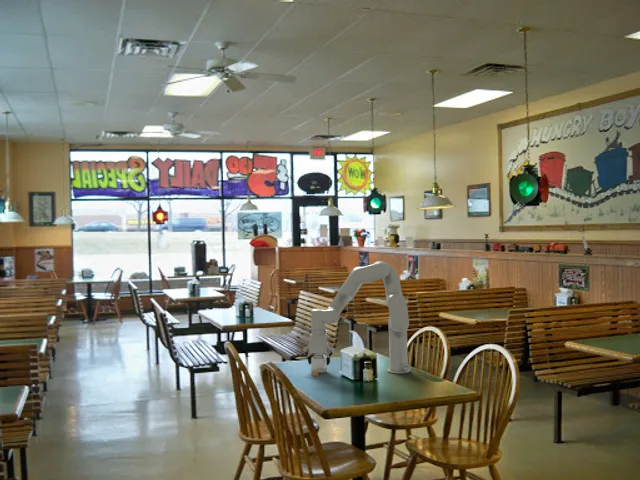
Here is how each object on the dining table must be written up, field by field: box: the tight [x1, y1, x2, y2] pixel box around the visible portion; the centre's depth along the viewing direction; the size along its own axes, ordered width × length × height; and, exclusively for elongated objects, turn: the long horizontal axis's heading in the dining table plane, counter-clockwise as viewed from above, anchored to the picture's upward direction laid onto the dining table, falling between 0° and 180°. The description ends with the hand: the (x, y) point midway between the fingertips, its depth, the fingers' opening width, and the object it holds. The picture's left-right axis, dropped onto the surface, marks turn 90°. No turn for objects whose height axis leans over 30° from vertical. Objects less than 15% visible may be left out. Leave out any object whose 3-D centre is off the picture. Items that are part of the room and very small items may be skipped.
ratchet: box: [310, 368, 328, 377], centre depth 330 cm, size 13×8×6 cm, turn 166°
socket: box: [310, 354, 328, 371], centre depth 332 cm, size 7×7×7 cm
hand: (319, 364), depth 332 cm, fingers open, 9 cm apart
